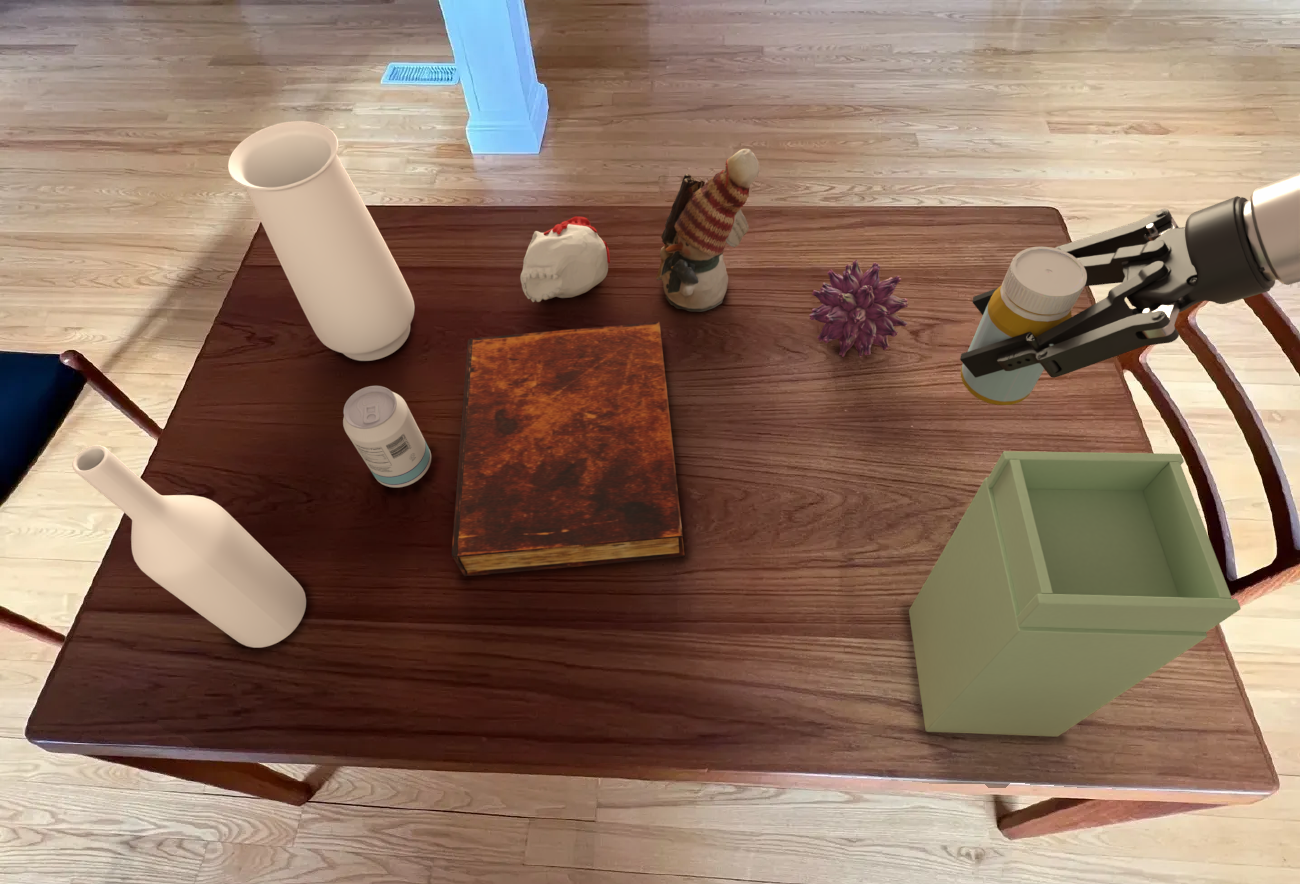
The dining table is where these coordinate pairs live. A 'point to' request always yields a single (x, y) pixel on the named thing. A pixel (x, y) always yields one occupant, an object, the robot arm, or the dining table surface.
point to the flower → (858, 309)
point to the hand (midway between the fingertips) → (974, 336)
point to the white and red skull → (564, 261)
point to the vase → (325, 239)
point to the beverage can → (386, 436)
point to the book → (565, 452)
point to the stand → (1063, 591)
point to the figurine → (705, 234)
